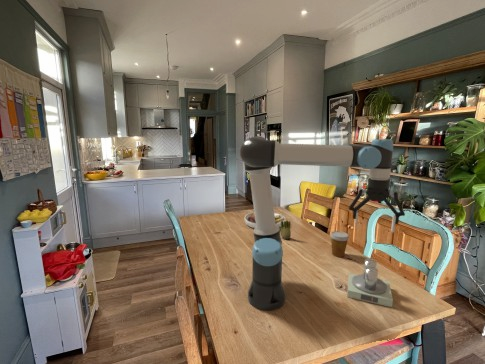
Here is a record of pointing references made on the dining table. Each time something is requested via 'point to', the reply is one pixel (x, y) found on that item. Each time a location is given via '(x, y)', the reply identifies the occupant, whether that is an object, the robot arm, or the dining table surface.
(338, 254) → the disposable coffee cup
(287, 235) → the asparagus bundle
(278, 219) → the bowl
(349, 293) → the kitchen scale
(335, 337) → the dining table surface
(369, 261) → the spacer
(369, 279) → the cylinder
